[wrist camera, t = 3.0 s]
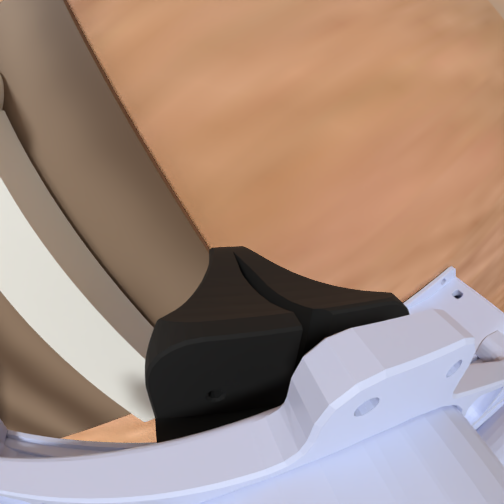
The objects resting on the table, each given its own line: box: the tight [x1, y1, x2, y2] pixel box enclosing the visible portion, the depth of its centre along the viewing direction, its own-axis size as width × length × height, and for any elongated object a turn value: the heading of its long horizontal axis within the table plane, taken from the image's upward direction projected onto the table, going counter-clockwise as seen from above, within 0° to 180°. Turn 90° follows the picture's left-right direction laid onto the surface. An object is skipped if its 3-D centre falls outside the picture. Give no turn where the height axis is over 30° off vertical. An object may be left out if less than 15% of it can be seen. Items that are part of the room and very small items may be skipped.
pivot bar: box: [0, 74, 155, 422], centre depth 9 cm, size 18×4×2 cm, turn 27°
